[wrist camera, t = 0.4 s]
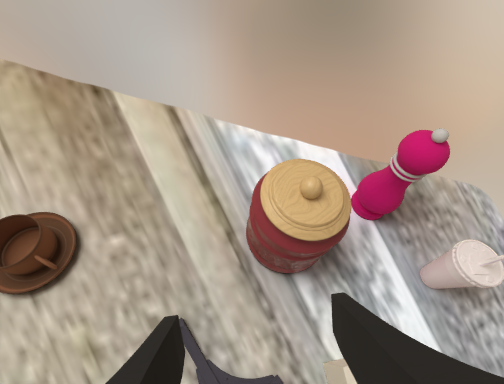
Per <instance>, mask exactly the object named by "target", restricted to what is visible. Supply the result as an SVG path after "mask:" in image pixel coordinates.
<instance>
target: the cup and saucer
mask: <svg viewBox="0 0 504 384" xmlns="http://www.w3.org/2000/svg"><path fill="white" fill-rule="evenodd" d="M75 246H76V235H75V231H74V229H73V227H72V225H71V224H70V222H69V221H68V220H67V219H65V218H64V217H62V216H60V215H58V214H55V213H50V212H38V213H32V214H28V215H11V216H8V217H5V218H2V219H0V292H2V293H9V294H15V293H24V292H28V291H32V290H35V289H37V288H39V287H41V286H43V285H45V284H47V283H49V282H50V281H51V280H53V279H54V278H55V277H57V276H58V275H59V274H60V273H61V272H62V271H63V270H64V268H65V267H66V266H67V264H68V263H69V261H70V260H71V258H72V256H73V253H74V250H75Z"/></svg>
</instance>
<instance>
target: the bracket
mask: <svg viewBox="0 0 504 384" xmlns="http://www.w3.org/2000/svg"><path fill="white" fill-rule="evenodd" d="M179 323H180V328H181V333H182V338H183V343H184V345H185V347H186V349H187V350H188V352H189V354H190V356H191V357H192V359H193V361H194V363H195V364H196V366H197V369H196V372H197V377H198V382H199V384H283V382H282V381H281V379H280V378H279V376H278V375H276V376H275V377H274V376H273V375H270V376H266V377H262V378H256V379H244V378H238V377H234V376H231V375H229V374H227V373H225V372H224V371H222V370H220V369H219V368H218V367H216V366H215V365H214V364H213V363H212V362H211V361H210V360H207V361H206V359H205V357H204V356H203V354H202V352H201V350H200V349H199V347H198V345H197V343H196V341H195V340H194V338H193V336H192V334H191V333H190V331H189V329H188V327H187V326H186V324H185V322H184V320H183V319H182V318H180V319H179ZM227 378H228V380H227Z"/></svg>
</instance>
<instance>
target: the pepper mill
mask: <svg viewBox="0 0 504 384" xmlns="http://www.w3.org/2000/svg"><path fill="white" fill-rule="evenodd" d="M448 137H449V133H448V131H447V130H445V129H442V128H440V129H436V130H435V131H434V132H433V131H429V130H419V131H415V132H413V133H410V134H409V135H407V136H406V137H405V138H404V139H403V140H402V141H401V142H400V144H399V147H398V151H397V152H396V153H395V155H393V156H392V158H391V159H390V165H389V166H388V167H386V168H385V169H383V170H380V171H377V172H374V173H371V174H370V175H368V176H366V177H365V178H364V179H363V180H362V181H361V182H360V183H359V185H358V189H357V191H356V192H355V193H354V194H353V196H352V198H351V204H352V207H353V209H354V211H355V212H356V213H357V214H358V215H359V216H361V217H362V218H364V219H367V220H376V219H379V218H380V217H382V216H383V215H384V214H387V213H390V212H392V211H394V210H395V209H396V208H397V207H398V206H399V205H400V204H401V202H402V200H403V198H404V194H405V190H406V188H407V187H408V186H409V185H410V184H411V183H412V182H416V181H419V180H421V179H422V178H423V177H424V176H426V175H427V174H430V173H433V172H436V171H437V170H439V169H440V168H442V167H443V166H444V165H445V163H446V162H447V160H448V158H449V155H450V149H449V145H448V143H447V141H446V140H447V139H448Z"/></svg>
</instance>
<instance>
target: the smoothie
mask: <svg viewBox="0 0 504 384" xmlns="http://www.w3.org/2000/svg"><path fill="white" fill-rule="evenodd" d="M502 260H504V255H501V256H498V255H497V254H496V253H495V252H494V251H493V250H492V249H491V248H490V247H489V246H487V245H486V244H484V243H482V242H480V241H477V240H464V241H461V242H458V243H457V244H456V245H455V246H454V247H453V249H451V250H450V251H448V252H447V253H445V254H443V255H442V256H440V257H439V258H437V259H435V260H434V261H432V262H431V263H429V264H427V265H426V266H424V267H423V268H422V269H421V271H420V276H421V279H422V281H423V282H424V283H425V284H426V285H427V286H428V287H430V288H432V289H442V288H459V287H476V286H477V287H480V288H491V287H494V286H497V285H499V284H501V283H502V281H503V279H504V267H503V264H502V262H501V261H502Z"/></svg>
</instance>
